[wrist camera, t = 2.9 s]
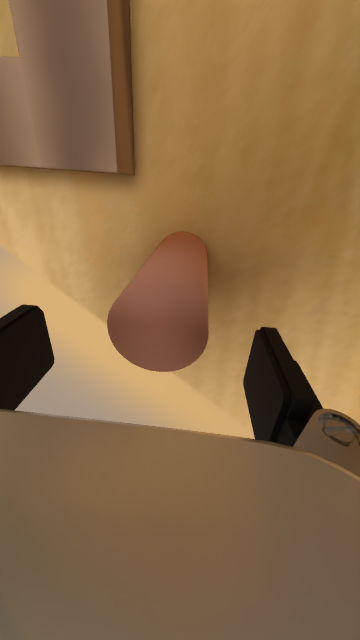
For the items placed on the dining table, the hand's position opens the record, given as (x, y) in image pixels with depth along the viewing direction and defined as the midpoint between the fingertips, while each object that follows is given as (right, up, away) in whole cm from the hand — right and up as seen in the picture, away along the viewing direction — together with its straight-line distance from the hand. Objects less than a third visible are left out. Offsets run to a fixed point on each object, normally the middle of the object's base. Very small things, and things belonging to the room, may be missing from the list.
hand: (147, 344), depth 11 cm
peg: (+2, +6, +10) cm, 12 cm away
